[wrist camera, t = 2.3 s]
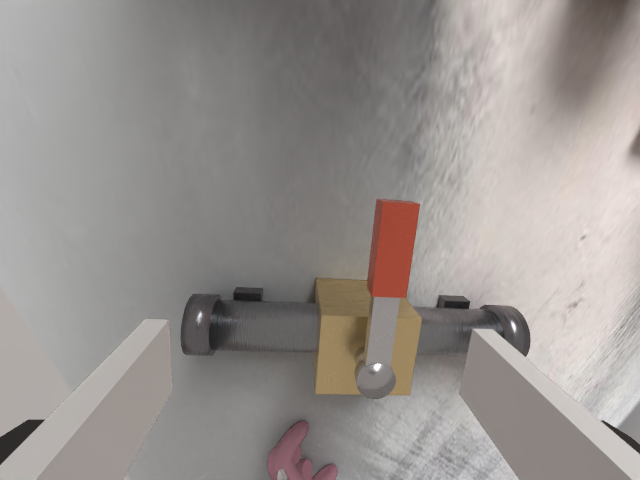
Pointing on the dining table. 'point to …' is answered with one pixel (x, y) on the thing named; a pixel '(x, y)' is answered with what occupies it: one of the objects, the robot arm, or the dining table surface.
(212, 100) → the dining table surface
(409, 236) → the lever
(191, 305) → the valve pipe
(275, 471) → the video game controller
